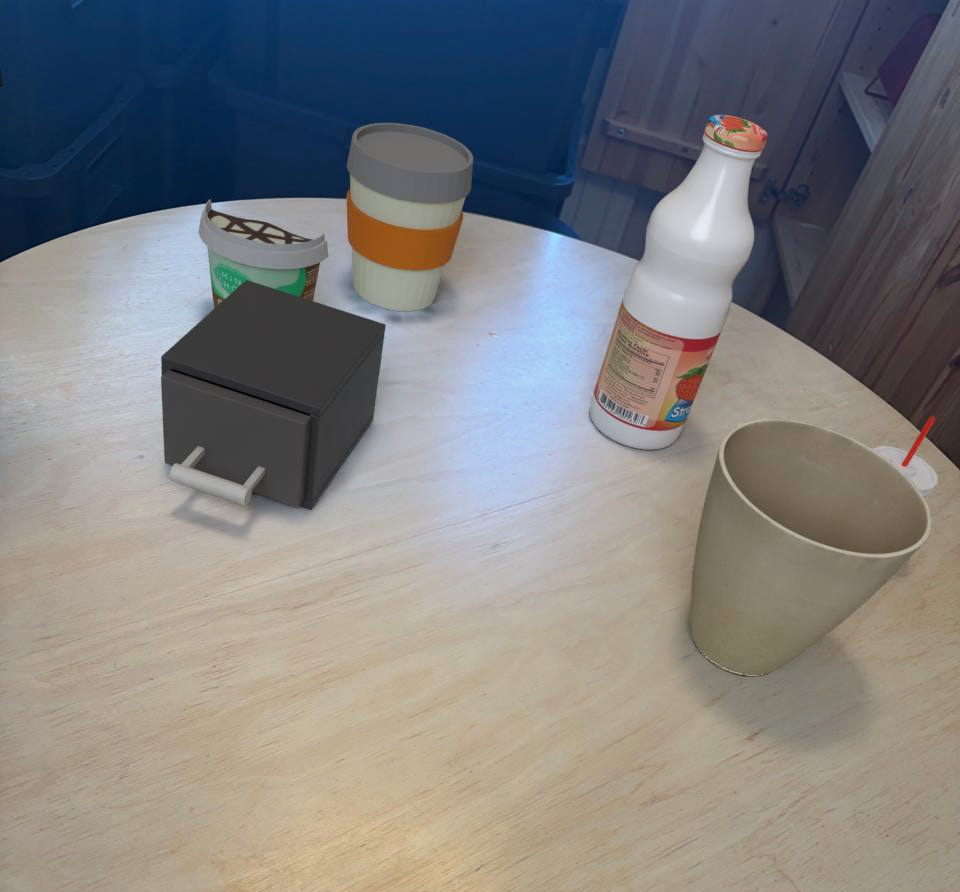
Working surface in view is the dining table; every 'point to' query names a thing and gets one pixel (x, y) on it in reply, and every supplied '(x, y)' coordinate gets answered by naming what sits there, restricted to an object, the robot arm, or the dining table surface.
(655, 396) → the fruit juice
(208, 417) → the drawer
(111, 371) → the dining table surface
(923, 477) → the beverage cup
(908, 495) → the plant pot
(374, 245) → the reusable coffee cup
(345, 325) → the cabinet
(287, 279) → the food container
